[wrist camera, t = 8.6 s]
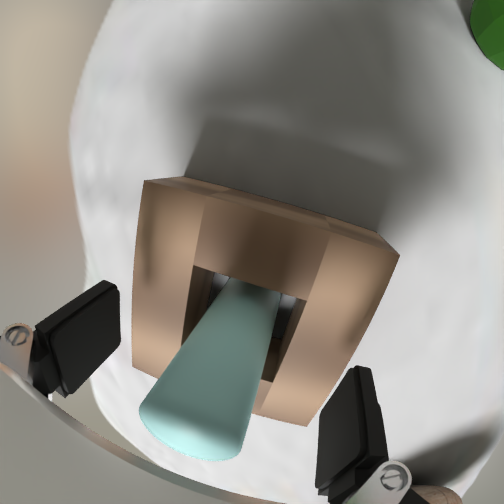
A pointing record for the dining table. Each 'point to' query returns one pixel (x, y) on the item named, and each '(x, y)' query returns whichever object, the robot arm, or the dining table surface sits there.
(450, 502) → the cooking pot
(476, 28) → the bell pepper
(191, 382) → the peg
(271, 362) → the socket
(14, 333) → the robot arm
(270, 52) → the dining table surface
